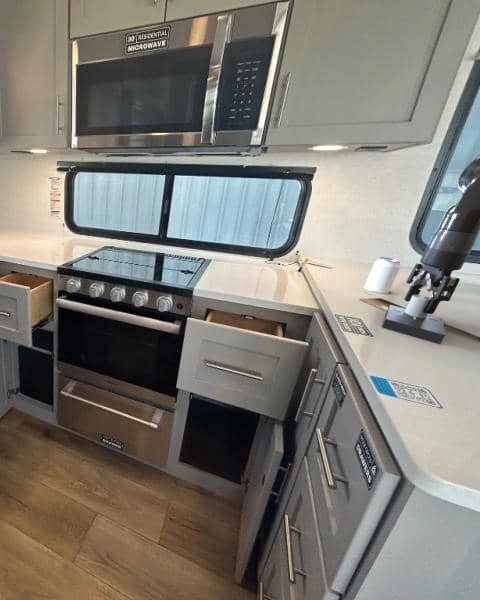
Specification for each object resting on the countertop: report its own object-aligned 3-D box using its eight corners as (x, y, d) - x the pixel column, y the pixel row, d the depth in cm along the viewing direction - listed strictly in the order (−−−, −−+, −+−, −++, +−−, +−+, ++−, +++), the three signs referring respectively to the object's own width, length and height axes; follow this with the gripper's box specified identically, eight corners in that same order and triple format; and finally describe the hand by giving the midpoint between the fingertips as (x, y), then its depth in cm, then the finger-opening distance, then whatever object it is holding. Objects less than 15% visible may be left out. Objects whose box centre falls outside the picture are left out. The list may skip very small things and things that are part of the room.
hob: (386, 312, 97) (390, 303, 96) (438, 325, 90) (443, 317, 89) (381, 327, 87) (385, 318, 85) (440, 344, 80) (445, 334, 79)
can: (383, 298, 108) (400, 263, 103) (359, 292, 112) (374, 258, 108) (389, 295, 111) (405, 261, 107) (365, 288, 116) (380, 256, 111)
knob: (404, 314, 89) (412, 296, 87) (404, 309, 92) (413, 292, 90) (426, 319, 87) (436, 301, 84) (426, 315, 90) (435, 297, 87)
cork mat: (389, 299, 107) (390, 298, 107) (431, 315, 96) (432, 314, 96) (359, 300, 105) (360, 298, 105) (398, 316, 94) (399, 314, 94)
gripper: (489, 257, 75) (452, 320, 81) (449, 244, 87) (419, 300, 94) (447, 252, 77) (414, 314, 84) (414, 240, 90) (388, 295, 96)
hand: (417, 306), depth 89 cm, fingers open, 8 cm apart
